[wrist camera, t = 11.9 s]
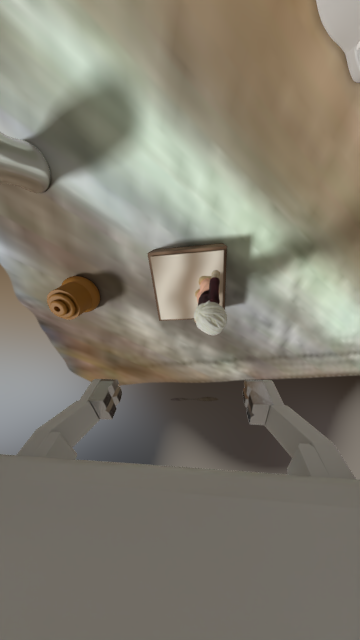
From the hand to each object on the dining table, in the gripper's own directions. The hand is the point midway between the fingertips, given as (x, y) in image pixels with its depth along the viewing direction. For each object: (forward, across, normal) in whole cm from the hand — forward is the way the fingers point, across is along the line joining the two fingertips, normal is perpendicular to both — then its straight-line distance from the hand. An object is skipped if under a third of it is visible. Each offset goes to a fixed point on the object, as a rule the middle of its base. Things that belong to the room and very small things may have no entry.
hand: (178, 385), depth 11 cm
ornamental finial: (+24, +22, +1) cm, 33 cm away
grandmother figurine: (+20, -3, 0) cm, 20 cm away
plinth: (+24, 0, 0) cm, 25 cm away
